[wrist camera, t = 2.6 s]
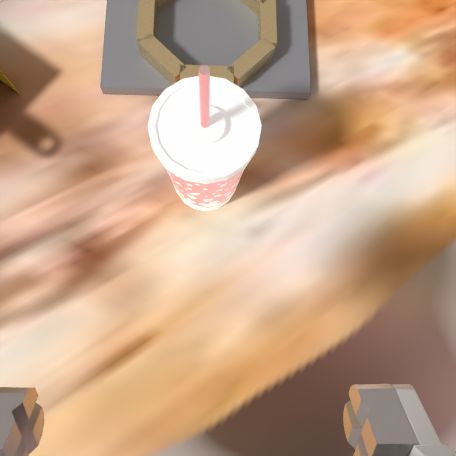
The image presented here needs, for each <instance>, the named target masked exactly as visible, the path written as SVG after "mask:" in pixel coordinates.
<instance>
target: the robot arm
mask: <svg viewBox="0 0 456 456" xmlns="http://www.w3.org/2000/svg"><path fill="white" fill-rule="evenodd" d="M349 396H350V401H349V402H348V403H347V404H345V408H344V412H343V415H344V416H343V420H344V429H345V433H346V437H347V441H348V442H349V443H350V444H351V445H352V446H353V447H354V448H355V449H356V451H355V453H354V456H456V451H454V450H453V449H452V448H451V447H450V446H449V445H447V444H441V442H440V440H439V438H438V436H437V434H436V432H435V430H434V428H433V426H432V424H431V422H430V420H429V418H428V416H427V414H426V412H425V410H424V408H423V406H422V404H421V402H420V400H419V398H418V396H417V393H416V392H415V389H414V388H413V387H412V386H411V385H409V384H396V385H389V384H369V385H353V386H351V388H350V391H349ZM37 398H38V394H37V391H36V389H35V388H21V387H0V456H29V454H30V453H31V452H32V451H33V450H34V449H35V448H36V447H37V446H38V445H39V442H40V439H41V436H42V432H43V426H44V412H43V409H42V407H41V406H40V405H38V404H37V403H36V400H37Z"/></svg>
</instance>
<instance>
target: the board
mask: <svg viewBox="0 0 456 456" xmlns="http://www.w3.org/2000/svg"><path fill="white" fill-rule="evenodd" d="M138 3H139V0H107V8H106V21H105V34H104V47H103V60H102V73H101V86H100V87H101V89H102V91H103V94H124V95H161V94H162V92H163V91H164V90H165V89H166V88H168V87H170V86H171V84H170V83H169V82H168V81H167V80H166V79H165V78H164V77H163V76H162V75H161V74H160V73H159V72H158V71H157V70H156V69H154V68H153V67H152V66H151V65H150V64H149V63H148V62H147V61H146V60H145V59H144V58H143V57H142V56H141V52H140V51H139V47H138V43H137V39H136V38H137V20H138ZM276 23H277V45H276V49H275V53H274V56H273V58H272V61H271V62H269V63H268V64H267V65H266V66H265V67H264V68H263V69H261V70H260V71H259V72H258V73H257V74H256V75H255V76H254V77H252V78H251V79H250V80H249V81H248V82H247V83H246V84H244V85H243V86H242V87H241V88H242V89H244V91H245V92H246V93H247V94H248V96H249V97H250V98H279V99H308V98H309V95H310V93H311V85H310V65H309V44H308V24H307V4H306V0H276ZM156 39H157V40H158V41H160V42H161V43H162V44H163V45H164V46H165V47H166V48H167V49H168V50H169V51H170V52H171V53H172V54H173V55H175V56H176V57H177V58H178V59H179V60H180V61H181V62H182V63H183V64H184V65H215V66H230V65H231V64H232V63H234V62H235V61H236V60H237V59H238V58H239V57H241V56H242V55H243V54H244V53H245V52H246V51H248V50H249V49H250V48H251V47H252V46H253V45H255V44H256V43H257V42H258V16H257V15H256V14H255V13H253V12H252V11H251V10H250V9H249V8H248V7H247V6H246V5H244V4H243V3H242V2H241V1H240V0H173V1H172V2H170V3H169V4H168V5H167V6H165V7H164V8H163V9H162V10H160V11H159V12H158V13H157V32H156Z"/></svg>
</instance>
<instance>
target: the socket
mask: <svg viewBox="0 0 456 456" xmlns="http://www.w3.org/2000/svg"><path fill="white" fill-rule="evenodd" d="M172 1H173V0H139V3H138V20H137V38H136V39H137V43H138V47H139V51H140V52H141V56H142V57H143V58H144V59H145V60H146V61H147V62H148V63H149V64H150V65H151V66H152V67H153V68H154V69H156V70H157V71H158V72H159V73H160V74H161V75H162V76H163V77H164V78H165V79H166V80H167V81H168V82H169V83H170V84H171V85H173V84H175V83H176V82H178V81H180V80H181V79H184V78H189V77H195V76H199V68H200V66H202V65H184V64H183V63H182V62H181V61H180V60H179V59H178V58H177V57H176V56H175V55H173V54H172V53H171V52H170V51H169V50H168V49H167V48H166V47H165V46H164V45H163V44H162V43H161V42H160V41H158V40H157V39H156V32H157V13H158V12H159V11H160V10H162V9H163V8H164V7H165V6H167V5H168V4H169V3H170V2H172ZM240 1H241V2H242V3H243V4H244V5H246V6H247V7H248V8H249V9H250V10H251V11H252V12H253V13H255V14H256V15H257V16H258V42H257V43H256V44H255V45H253V46H252V47H251V48H250V49H249V50H248V51H246V52H245V53H244V54H243V55H242V56H241V57H239V58H238V59H237V60H236V61H235V62H234V63H232V64H231V65H230V66H215V65H206V66H208V67H209V68H210V76H213V77H219V78H224V79H227V80H228V81H230V82H232V83H234V84H235V85H237V86H239V87H240V88H241V87H242V86H243V85H244V84H246V83H247V82H248V81H249V80H250V79H251V78H252V77H254V76H255V75H256V74H257V73H258V72H259V71H260V70H261V69H263V68H264V67H265V66H266V65H267V64H268V63H269V62H271V61H272V58H273V56H274V53H275V49H276V45H277V23H276V0H240Z"/></svg>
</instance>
